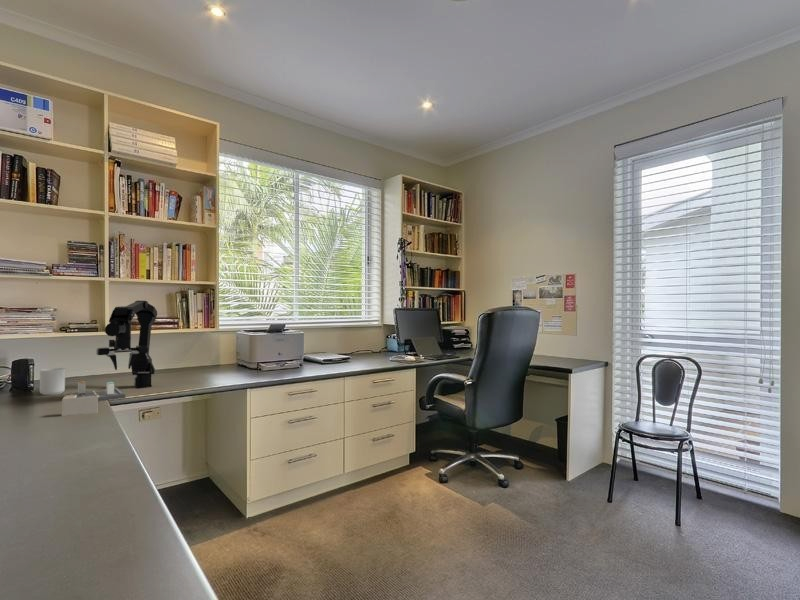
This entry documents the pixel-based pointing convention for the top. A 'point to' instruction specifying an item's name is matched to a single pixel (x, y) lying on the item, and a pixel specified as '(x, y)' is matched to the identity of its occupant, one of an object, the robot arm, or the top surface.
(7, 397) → the top surface
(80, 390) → the grey rectangular block
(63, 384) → the mug
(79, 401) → the model
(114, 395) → the console
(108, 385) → the fader teal
